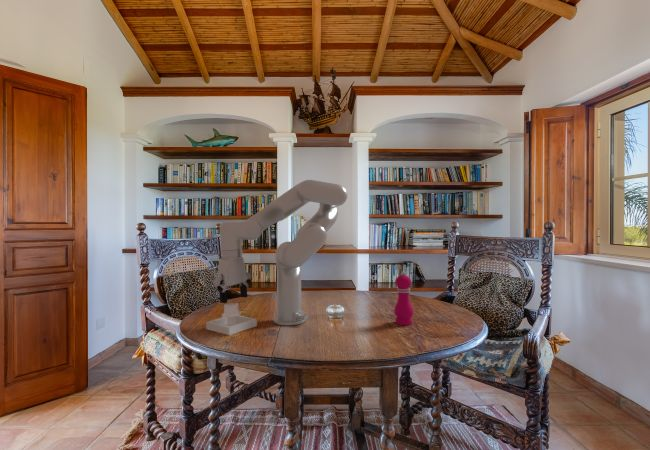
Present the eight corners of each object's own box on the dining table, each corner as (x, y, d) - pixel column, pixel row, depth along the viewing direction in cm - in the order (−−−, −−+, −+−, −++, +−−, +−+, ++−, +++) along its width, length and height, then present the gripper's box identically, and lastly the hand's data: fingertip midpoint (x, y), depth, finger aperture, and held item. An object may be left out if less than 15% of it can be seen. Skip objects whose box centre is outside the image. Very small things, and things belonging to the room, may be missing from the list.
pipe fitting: (231, 328, 123) (231, 306, 123) (218, 326, 127) (217, 305, 127) (245, 324, 128) (244, 303, 129) (232, 322, 132) (231, 302, 133)
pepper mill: (415, 321, 133) (414, 270, 133) (411, 326, 126) (411, 272, 126) (396, 319, 136) (396, 269, 136) (392, 324, 129) (391, 272, 129)
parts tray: (256, 325, 129) (256, 319, 129) (229, 335, 118) (229, 327, 118) (233, 320, 137) (233, 314, 137) (206, 329, 126) (206, 322, 126)
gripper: (242, 252, 137) (244, 294, 137) (205, 257, 123) (208, 304, 123) (255, 252, 133) (257, 295, 133) (219, 257, 118) (221, 306, 119)
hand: (234, 299), depth 128 cm, fingers open, 9 cm apart
